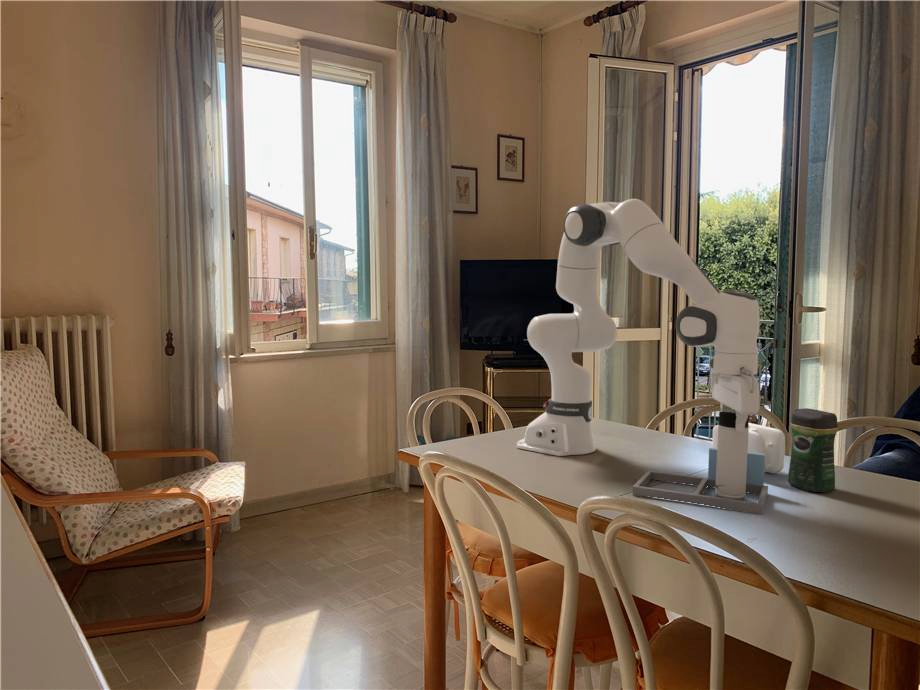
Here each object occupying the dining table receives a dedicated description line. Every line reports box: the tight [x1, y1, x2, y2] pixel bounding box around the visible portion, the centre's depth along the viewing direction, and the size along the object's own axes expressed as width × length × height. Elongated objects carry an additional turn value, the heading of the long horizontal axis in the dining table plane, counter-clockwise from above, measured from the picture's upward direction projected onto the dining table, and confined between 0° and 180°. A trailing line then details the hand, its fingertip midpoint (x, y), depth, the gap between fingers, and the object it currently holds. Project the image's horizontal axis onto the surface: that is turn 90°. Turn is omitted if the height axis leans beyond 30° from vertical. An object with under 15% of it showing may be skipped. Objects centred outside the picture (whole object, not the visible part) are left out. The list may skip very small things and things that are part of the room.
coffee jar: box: [787, 407, 839, 493], centre depth 161 cm, size 10×8×19 cm
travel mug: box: [714, 411, 750, 501], centre depth 153 cm, size 6×7×20 cm
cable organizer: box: [711, 422, 786, 474], centre depth 176 cm, size 15×11×12 cm
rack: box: [632, 447, 769, 515], centre depth 157 cm, size 27×16×9 cm, turn 62°
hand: (733, 427), depth 152 cm, fingers closed on travel mug, 6 cm apart
